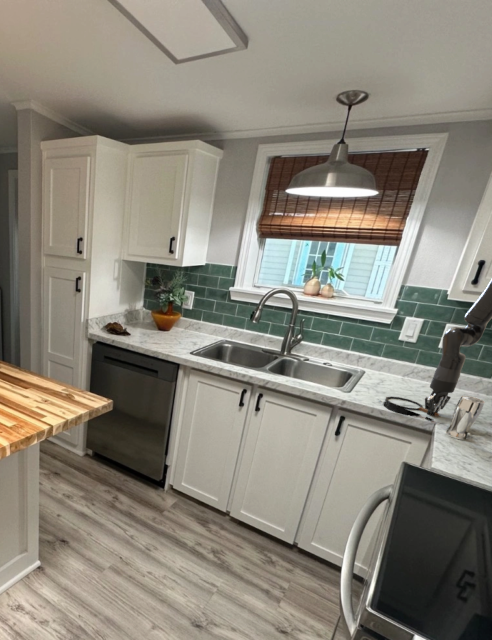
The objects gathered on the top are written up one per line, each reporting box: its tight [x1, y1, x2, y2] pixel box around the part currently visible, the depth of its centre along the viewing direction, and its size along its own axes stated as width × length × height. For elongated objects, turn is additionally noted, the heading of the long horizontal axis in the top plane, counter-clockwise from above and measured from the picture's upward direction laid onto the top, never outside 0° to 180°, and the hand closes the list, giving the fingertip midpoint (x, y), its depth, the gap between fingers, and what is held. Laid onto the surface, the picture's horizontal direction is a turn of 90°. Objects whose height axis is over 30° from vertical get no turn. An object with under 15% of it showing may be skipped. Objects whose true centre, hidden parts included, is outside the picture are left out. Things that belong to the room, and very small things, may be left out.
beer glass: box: [445, 395, 486, 441], centre depth 149 cm, size 7×7×15 cm
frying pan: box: [383, 396, 440, 418], centre depth 169 cm, size 20×13×4 cm, turn 24°
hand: (429, 419), depth 163 cm, fingers closed on frying pan, 1 cm apart
